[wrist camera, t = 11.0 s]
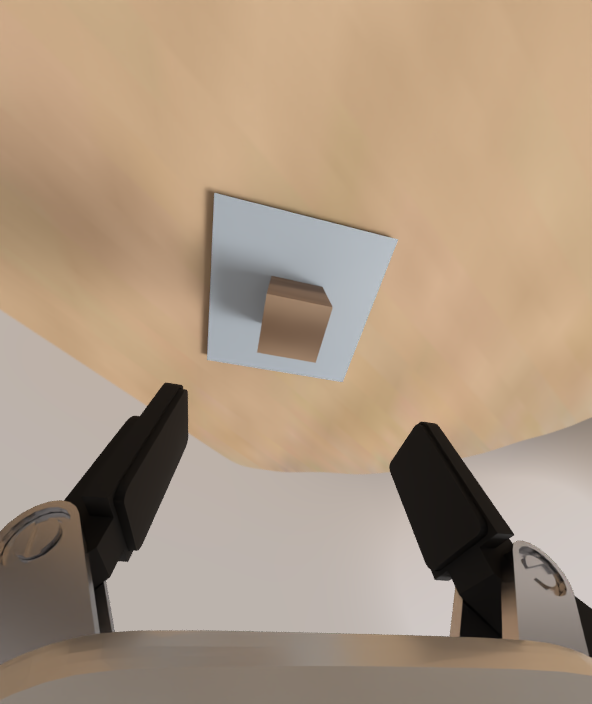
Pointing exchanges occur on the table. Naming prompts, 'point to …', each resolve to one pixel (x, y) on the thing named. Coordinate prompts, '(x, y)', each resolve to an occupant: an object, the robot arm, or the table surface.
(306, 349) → the walnut block
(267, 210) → the slate board
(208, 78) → the table surface
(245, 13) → the table surface
